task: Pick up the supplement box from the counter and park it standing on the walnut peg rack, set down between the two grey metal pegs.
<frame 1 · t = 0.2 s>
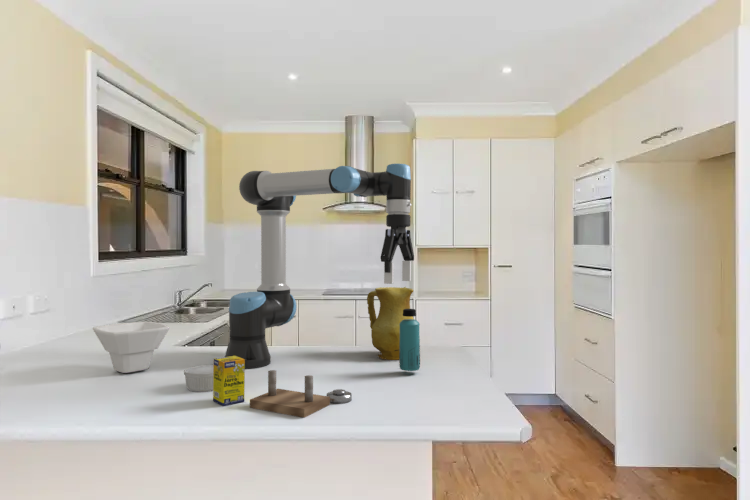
hand: (398, 282, 164), 28 cm above the countertop, fingers open, 13 cm apart
peg rack: (290, 406, 129), on the countertop
supplement box: (228, 402, 133), on the countertop
bowl: (131, 372, 164), on the countertop
metal knobbed disc: (339, 399, 135), on the countertop
pitcher: (394, 356, 188), on the countertop
beverage bottle: (409, 374, 163), on the countertop
ramekin: (205, 388, 146), on the countertop
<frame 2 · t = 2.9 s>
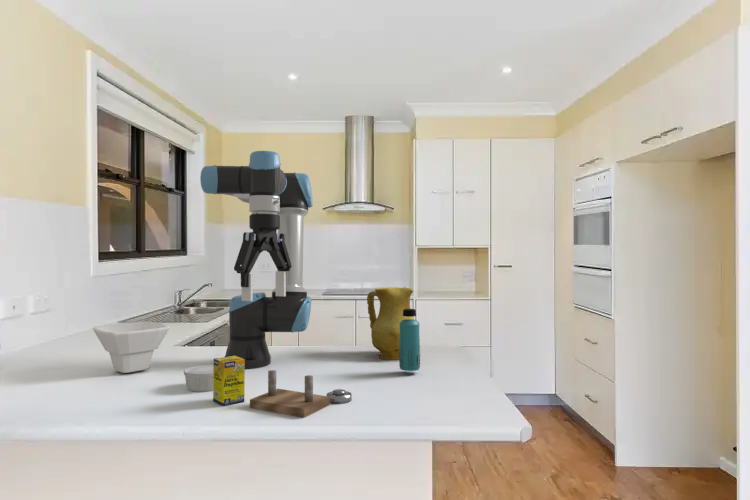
hand: (264, 298, 132), 26 cm above the countertop, fingers open, 13 cm apart
nothing on the countertop moved.
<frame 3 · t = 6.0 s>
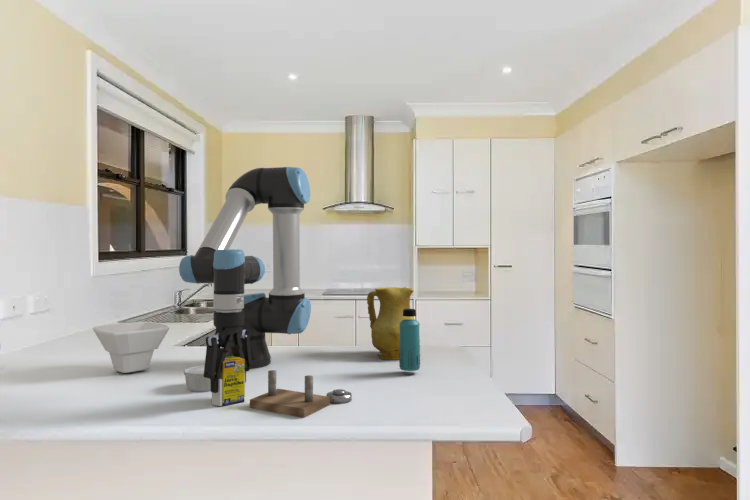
hand: (228, 400, 133), 0 cm above the countertop, fingers closed on supplement box, 7 cm apart
supplement box: (228, 402, 133), on the countertop, touching gripper
everything else where it was.
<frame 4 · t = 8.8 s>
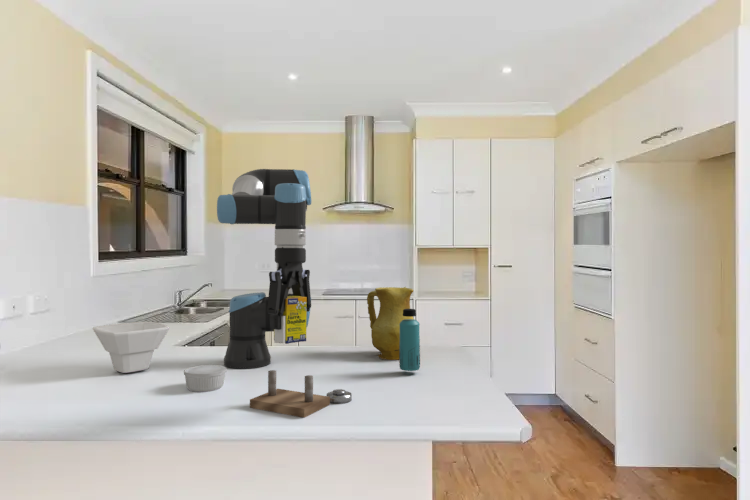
hand: (290, 339, 129), 16 cm above the countertop, fingers closed on supplement box, 7 cm apart
supplement box: (290, 341, 129), point 16 cm above the countertop, touching gripper
everything else where it was.
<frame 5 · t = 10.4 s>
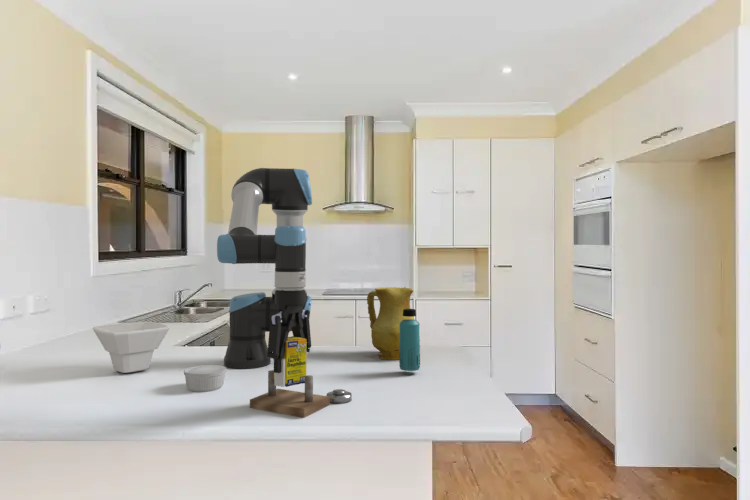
hand: (290, 381, 129), 6 cm above the countertop, fingers closed on supplement box, 7 cm apart
supplement box: (290, 383, 129), point 6 cm above the countertop, touching gripper
everything else where it was.
when the fingers open (4 cm above the countertop, at t = 11.7 s): supplement box drops 2 cm, resting on peg rack.
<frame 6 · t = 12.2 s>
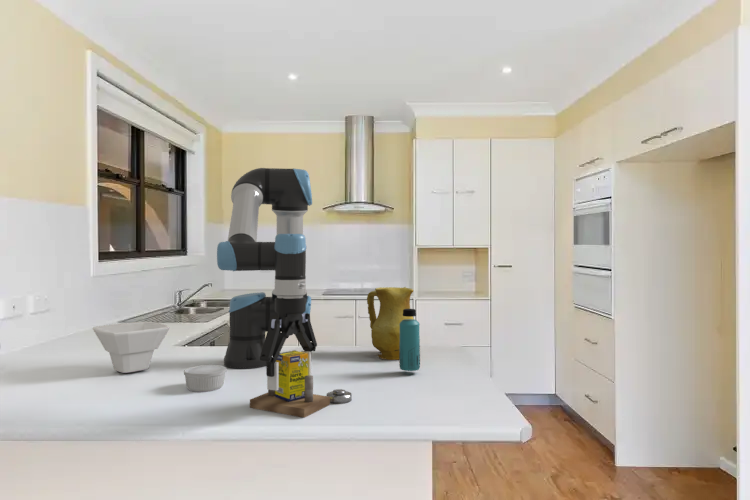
hand: (290, 383, 129), 6 cm above the countertop, fingers open, 13 cm apart
supplement box: (291, 398, 130), point 2 cm above the countertop, touching peg rack
everything else where it was.
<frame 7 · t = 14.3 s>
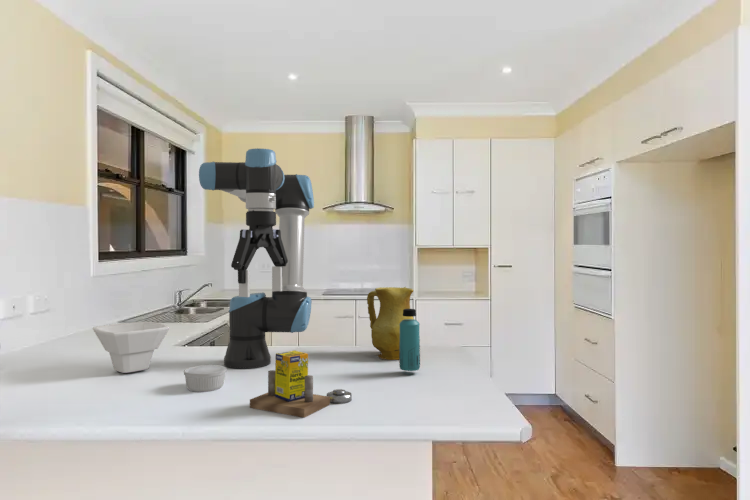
hand: (261, 293, 135), 27 cm above the countertop, fingers open, 13 cm apart
nothing on the countertop moved.
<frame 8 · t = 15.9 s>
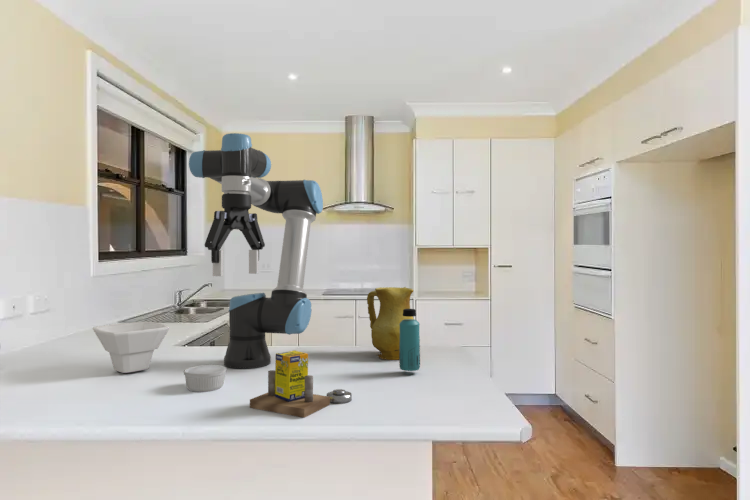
hand: (236, 275, 138), 32 cm above the countertop, fingers open, 13 cm apart
nothing on the countertop moved.
at the end: supplement box inside the target area on the peg rack (0.6 cm from its centre), point 1.8 cm above the peg rack's base; supplement box tilted 0°; the gripper is holding nothing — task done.
